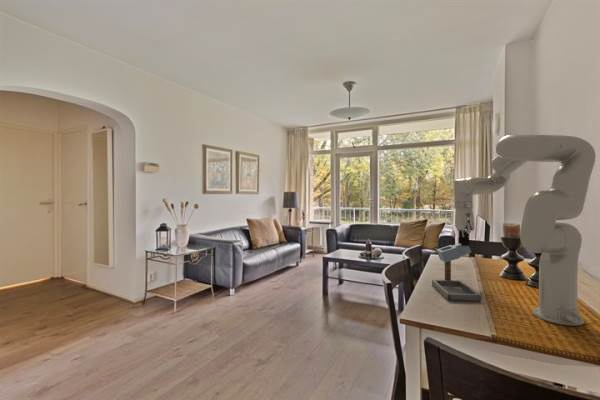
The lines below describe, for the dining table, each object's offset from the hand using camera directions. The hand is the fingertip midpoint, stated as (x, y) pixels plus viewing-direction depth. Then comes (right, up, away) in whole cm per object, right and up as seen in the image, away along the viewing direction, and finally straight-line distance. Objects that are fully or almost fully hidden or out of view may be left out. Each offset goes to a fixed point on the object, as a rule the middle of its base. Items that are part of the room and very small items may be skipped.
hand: (463, 244), depth 135 cm
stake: (-7, -18, +2) cm, 19 cm away
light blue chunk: (-3, -6, 0) cm, 6 cm away
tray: (-12, -18, -14) cm, 26 cm away
